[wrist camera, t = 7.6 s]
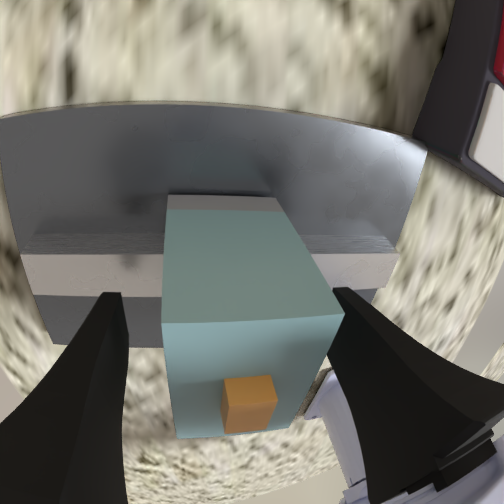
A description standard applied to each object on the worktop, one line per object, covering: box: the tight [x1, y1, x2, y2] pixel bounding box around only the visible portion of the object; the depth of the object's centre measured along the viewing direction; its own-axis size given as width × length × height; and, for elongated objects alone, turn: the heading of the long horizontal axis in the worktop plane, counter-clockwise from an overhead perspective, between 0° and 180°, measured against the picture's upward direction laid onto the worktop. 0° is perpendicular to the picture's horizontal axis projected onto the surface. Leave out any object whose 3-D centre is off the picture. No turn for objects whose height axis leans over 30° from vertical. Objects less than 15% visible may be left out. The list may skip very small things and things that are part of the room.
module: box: [161, 195, 345, 439], centre depth 10 cm, size 4×6×7 cm, turn 172°
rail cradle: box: [0, 101, 428, 348], centre depth 13 cm, size 18×12×2 cm, turn 82°
